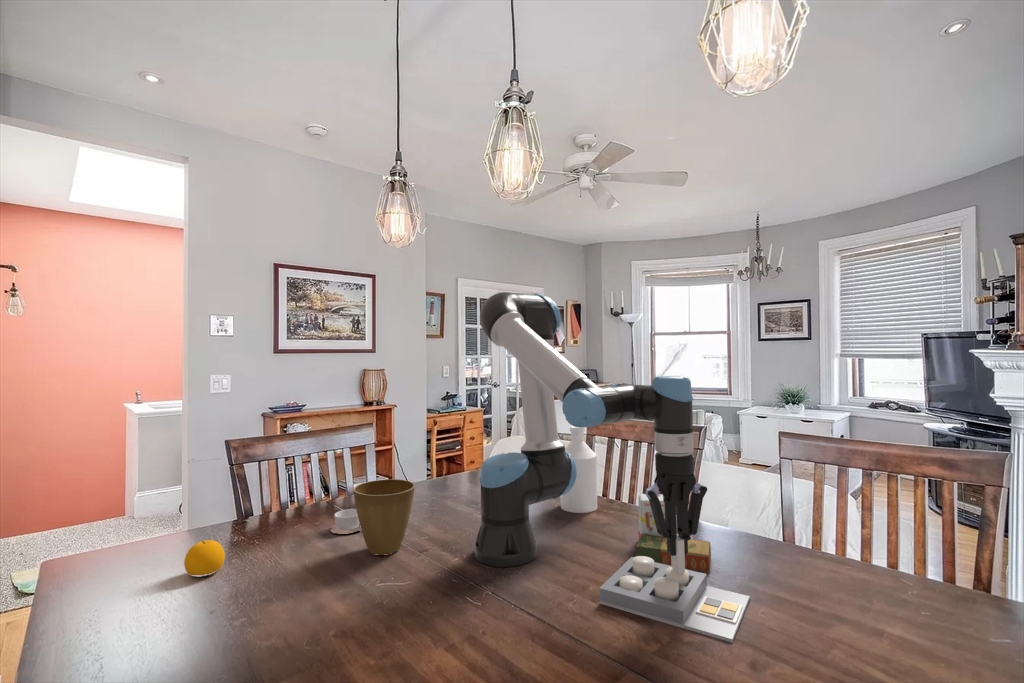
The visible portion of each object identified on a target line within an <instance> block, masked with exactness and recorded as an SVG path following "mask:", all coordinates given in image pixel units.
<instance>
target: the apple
mask: <svg viewBox="0 0 1024 683" xmlns="http://www.w3.org/2000/svg"><path fill="white" fill-rule="evenodd" d="M185 554H186V555H185V557H184V569H185V571H186V573H187V574H188V575H189V574H190V575H204V574H209V573H212V572H214V571H216V570H218V569H219V570H221V568H222V567H223V566H224V562H225V559H226V553H225V549H224V547H223V545H221V544H220V543H219V542H218V541H217V540H213V539H206V540H202V541H198V542H196V543H195V544H194V545H192V546H191V547H190V548H189V549H188V551H187V552H186V553H185ZM219 570H218V571H219ZM190 575H189V576H190Z"/></svg>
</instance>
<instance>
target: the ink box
mask: <svg viewBox="0 0 1024 683" xmlns="http://www.w3.org/2000/svg"><path fill="white" fill-rule="evenodd" d="M658 498H659V501H660V504H661V507H662V511H663V515H664V519H665V503H664V501H663V495H662V494H661V493H659V497H658ZM641 534H647V535H656V536H661V535H660V534H659V533H658V532H657V529H656V525H655V521H654V517H653V513H652V510H651V506H650V502H649V499H648V497H647V496H646V494H645V493H640V494H639V495H638V540H639V539H640V537H641Z"/></svg>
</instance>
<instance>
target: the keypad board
mask: <svg viewBox="0 0 1024 683" xmlns="http://www.w3.org/2000/svg"><path fill="white" fill-rule="evenodd" d="M634 557H635V556H631V557H629V558H628V559H627V561H625V563H623V565H621V566H620V567H619V568H618V569H617V570H616V571H615V573H613V574H612V575H611V576H610V577H609V578H608V579H607V580H606V581H605V582H604V583H603V584H602V585H601V586H599V604H600V605H603V606H607V607H610V608H613V609H617V610H620V611H623V612H628V613H631V614H635V615H637V616H640V617H644V618H647V619H651V620H654V621H657V622H661V623H664V624H668V625H670V626H674V627H677V628H681V629H684V630H688V631H691V632H695V633H697V634H702V635H704V636H708V637H712V638H714V639H718V640H722V641H726V642H729V643H734V639H735V637H736V635H737V632H738V630H739V628H740V624H741V622H742V620H743V618H744V615H745V612H746V610H747V608H748V605H749V602H750V600H751V597H750V595H747V594H742V593H739V592H733V591H729V590H726V589H721V588H717V587H713V586H709V585H708V575H707V573H703V572H701V571H699V572H698V571H696V570H691V569H686V570H687V571H688V572H689V584H688V586H687V587H686V586H682V585H678V586H679V599H678V600H677V601H674V602H673V601H669V600H665V599H662V598H658V597H655V594H654V580H655V579H656V578H658V577H666V568H668V567H671V566H669V565H665V564H661V563H656V562H654V576H653V577H650V578H649V577H645V576H641V575H637V574H633V565H632V559H633V558H634ZM627 575H631V576H636V577H639V578H640V579H642V581H643V588H642V590H641V591H640V592H636V591H632V590H628V589H625V588H621V587H620V578H621V577H622V576H627Z"/></svg>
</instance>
